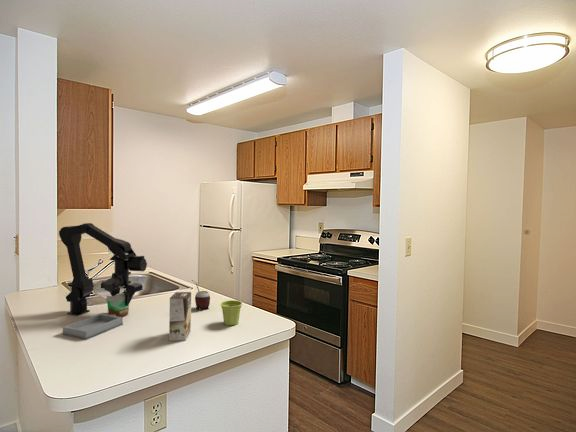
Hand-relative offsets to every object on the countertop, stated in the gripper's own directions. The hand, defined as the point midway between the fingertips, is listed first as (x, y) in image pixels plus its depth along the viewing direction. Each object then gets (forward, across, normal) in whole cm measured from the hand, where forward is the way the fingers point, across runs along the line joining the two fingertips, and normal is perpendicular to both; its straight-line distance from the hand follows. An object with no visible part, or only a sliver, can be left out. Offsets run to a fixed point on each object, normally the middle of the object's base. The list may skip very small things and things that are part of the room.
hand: (121, 305), depth 155 cm
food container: (+5, 0, 0) cm, 5 cm away
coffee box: (+5, +38, -9) cm, 39 cm away
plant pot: (+5, +49, +11) cm, 51 cm away
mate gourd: (+5, +27, +22) cm, 35 cm away
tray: (+5, +3, -17) cm, 18 cm away
